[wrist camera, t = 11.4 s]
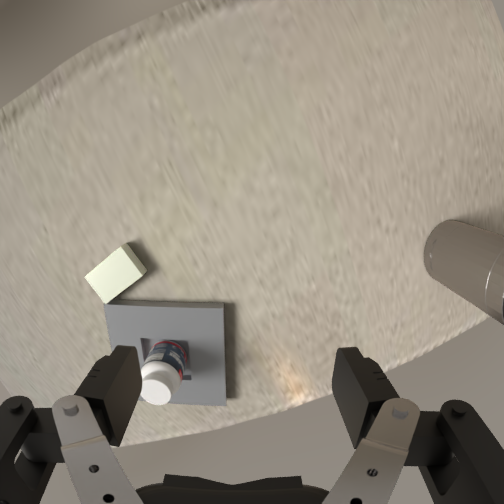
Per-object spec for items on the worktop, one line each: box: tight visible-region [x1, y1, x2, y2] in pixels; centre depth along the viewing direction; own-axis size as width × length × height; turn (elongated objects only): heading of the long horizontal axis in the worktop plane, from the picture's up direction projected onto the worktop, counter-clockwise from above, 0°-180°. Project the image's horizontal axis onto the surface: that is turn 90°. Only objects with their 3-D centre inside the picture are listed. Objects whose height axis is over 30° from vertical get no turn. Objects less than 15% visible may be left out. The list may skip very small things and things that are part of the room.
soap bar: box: [85, 243, 147, 304], centre depth 39 cm, size 7×4×2 cm, turn 125°
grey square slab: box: [104, 299, 227, 406], centre depth 42 cm, size 16×16×2 cm
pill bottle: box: [141, 340, 187, 405], centre depth 38 cm, size 5×5×9 cm
